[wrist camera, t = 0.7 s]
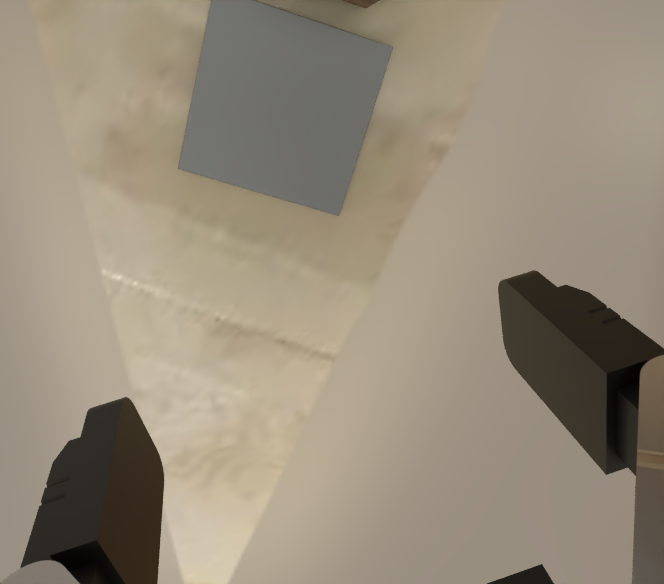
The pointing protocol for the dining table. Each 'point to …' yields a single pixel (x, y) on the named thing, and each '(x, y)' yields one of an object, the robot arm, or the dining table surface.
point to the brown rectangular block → (362, 2)
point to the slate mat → (281, 103)
